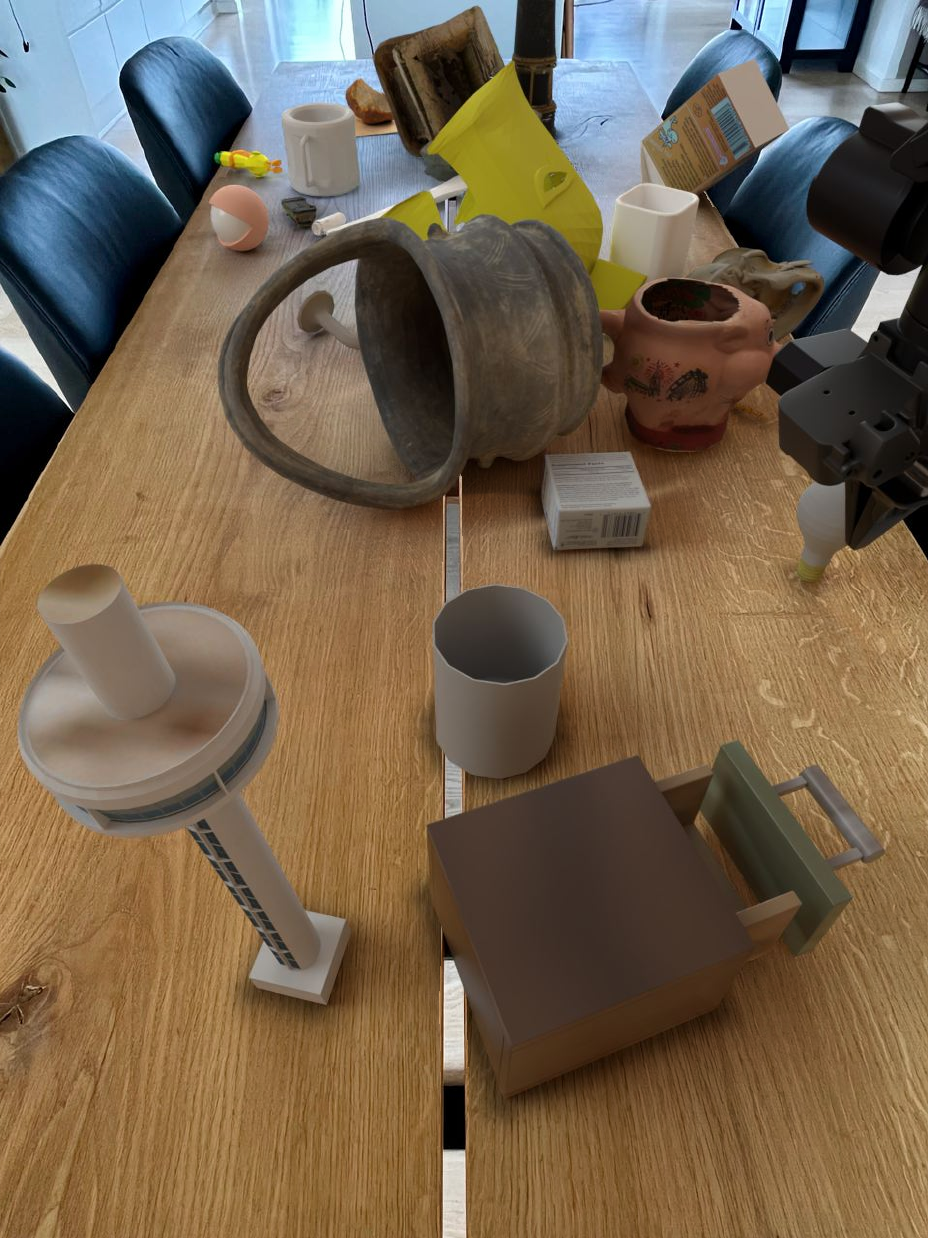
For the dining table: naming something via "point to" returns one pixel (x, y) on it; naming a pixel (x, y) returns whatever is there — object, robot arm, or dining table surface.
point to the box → (594, 500)
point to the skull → (767, 284)
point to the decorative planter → (686, 359)
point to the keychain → (749, 411)
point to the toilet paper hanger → (324, 318)
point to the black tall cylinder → (536, 56)
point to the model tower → (171, 750)
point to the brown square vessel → (435, 74)
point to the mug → (321, 148)
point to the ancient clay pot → (441, 349)
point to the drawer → (771, 846)
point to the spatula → (438, 193)
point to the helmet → (519, 181)
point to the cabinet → (580, 921)
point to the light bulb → (820, 528)
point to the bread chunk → (369, 109)
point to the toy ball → (238, 217)
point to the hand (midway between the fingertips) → (855, 545)
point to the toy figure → (248, 162)
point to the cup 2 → (653, 230)
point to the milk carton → (713, 132)
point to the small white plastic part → (328, 223)
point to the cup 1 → (497, 679)
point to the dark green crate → (300, 210)
